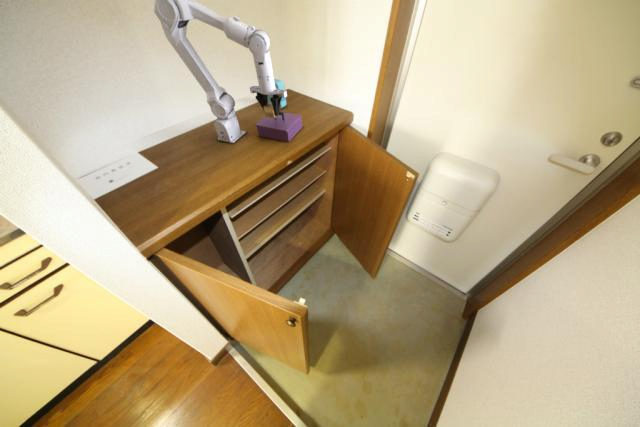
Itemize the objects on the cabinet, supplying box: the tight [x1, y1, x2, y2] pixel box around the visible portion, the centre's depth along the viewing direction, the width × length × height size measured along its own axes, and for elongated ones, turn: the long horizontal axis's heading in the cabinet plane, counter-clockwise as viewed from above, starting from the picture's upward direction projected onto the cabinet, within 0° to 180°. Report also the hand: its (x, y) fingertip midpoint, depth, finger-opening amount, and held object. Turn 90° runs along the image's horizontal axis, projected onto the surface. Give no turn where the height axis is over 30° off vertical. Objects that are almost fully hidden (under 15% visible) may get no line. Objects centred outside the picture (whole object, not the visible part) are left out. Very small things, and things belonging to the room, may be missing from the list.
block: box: [263, 103, 276, 118], centre depth 86 cm, size 4×4×4 cm
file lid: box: [255, 110, 303, 132], centre depth 91 cm, size 14×14×4 cm
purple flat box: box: [256, 117, 303, 143], centre depth 95 cm, size 13×14×5 cm
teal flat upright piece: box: [268, 78, 287, 110], centre depth 110 cm, size 12×4×12 cm, turn 59°
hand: (272, 114), depth 87 cm, fingers closed on block, 4 cm apart
